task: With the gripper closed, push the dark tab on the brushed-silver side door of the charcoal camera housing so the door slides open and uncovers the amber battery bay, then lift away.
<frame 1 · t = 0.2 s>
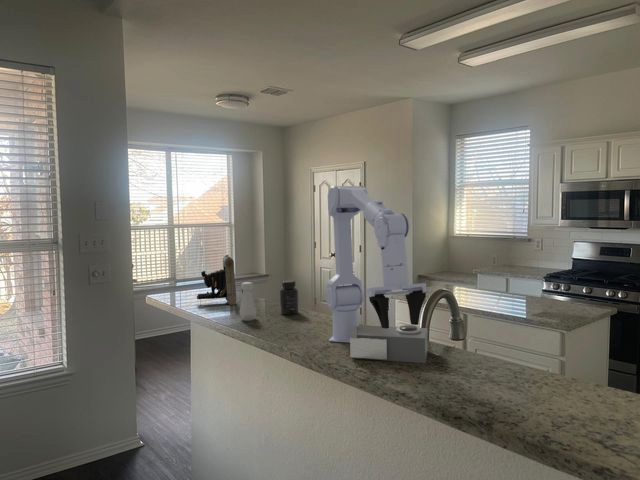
hand: (400, 326, 104), 10 cm above the countertop, fingers open, 7 cm apart
side door: (368, 342, 113), point 5 cm above the countertop, slide at 0.0 cm
camera housing: (390, 354, 118), on the countertop
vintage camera: (216, 305, 191), on the countertop
salt shaker: (248, 320, 162), on the countertop
supplement bottle: (289, 314, 170), on the countertop
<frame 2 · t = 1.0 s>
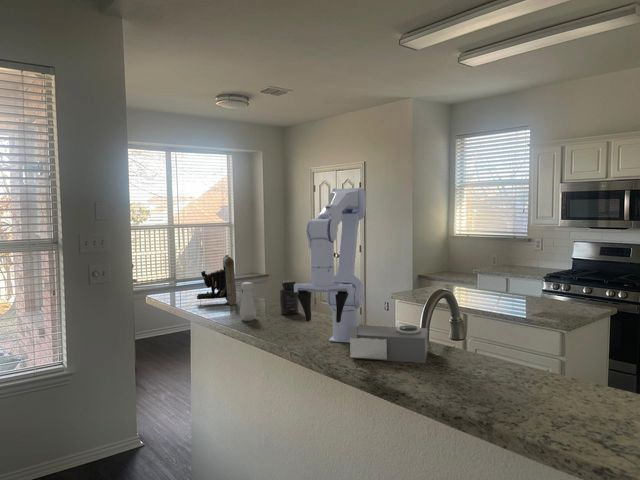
hand: (323, 321, 115), 9 cm above the countertop, fingers open, 7 cm apart
nothing on the countertop moved.
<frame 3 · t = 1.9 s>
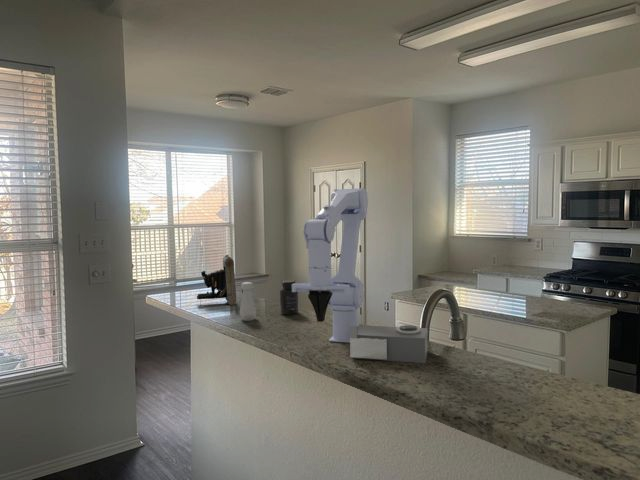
hand: (320, 320, 116), 9 cm above the countertop, fingers closed
nothing on the countertop moved.
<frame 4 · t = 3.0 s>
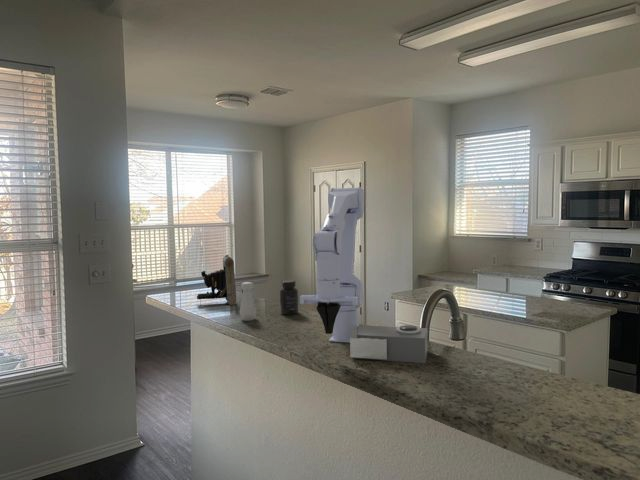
hand: (329, 332, 116), 6 cm above the countertop, fingers closed
nothing on the countertop moved.
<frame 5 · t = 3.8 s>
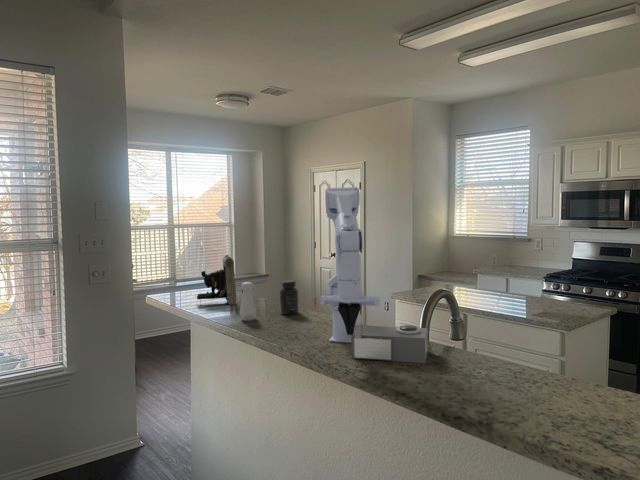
hand: (350, 333, 114), 6 cm above the countertop, fingers closed
side door: (372, 342, 113), point 5 cm above the countertop, slide at 1.1 cm, touching gripper
everything else where it was.
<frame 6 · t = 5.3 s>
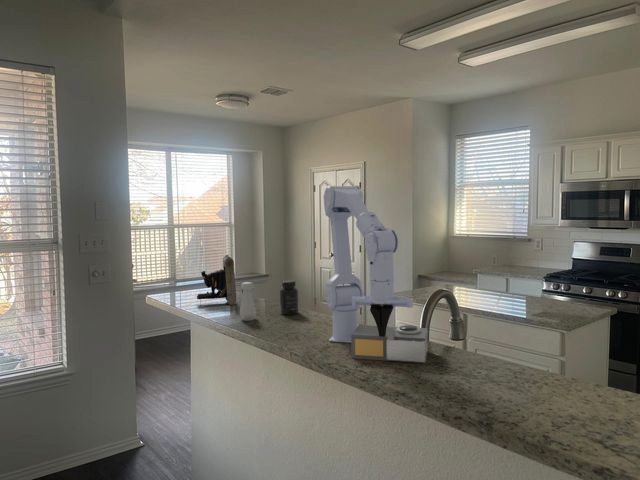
hand: (382, 335, 112), 6 cm above the countertop, fingers closed
side door: (405, 344, 111), point 5 cm above the countertop, slide at 9.0 cm, touching gripper
everything else where it was.
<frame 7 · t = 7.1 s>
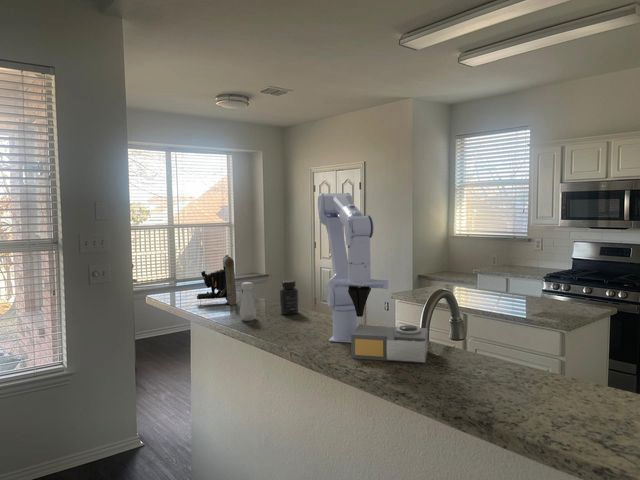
hand: (360, 315, 119), 10 cm above the countertop, fingers closed
side door: (405, 344, 111), point 5 cm above the countertop, slide at 9.0 cm
everything else where it was.
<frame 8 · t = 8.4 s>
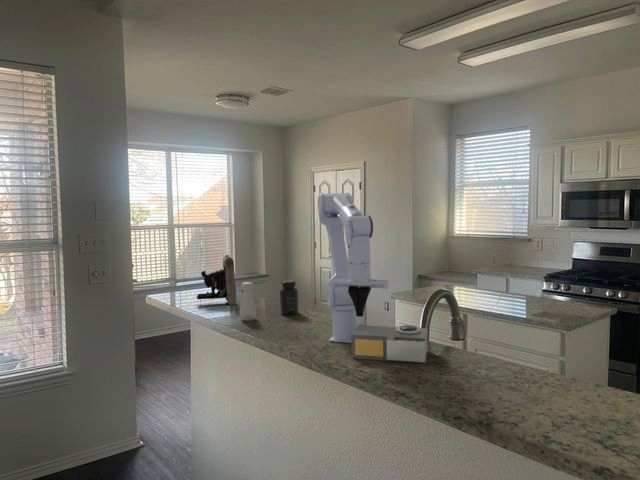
hand: (360, 315, 119), 10 cm above the countertop, fingers closed
nothing on the countertop moved.
at the end: side door slide at 9.0 cm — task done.
